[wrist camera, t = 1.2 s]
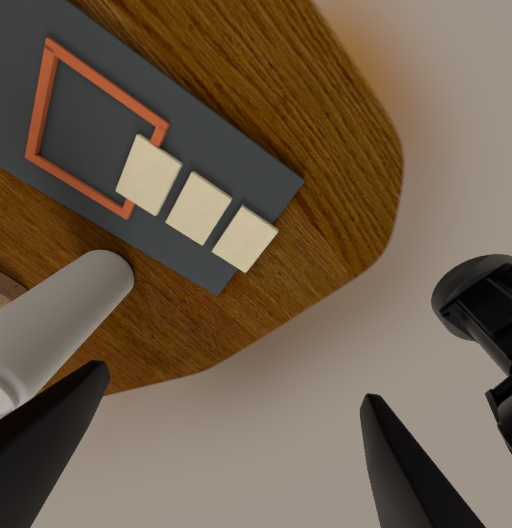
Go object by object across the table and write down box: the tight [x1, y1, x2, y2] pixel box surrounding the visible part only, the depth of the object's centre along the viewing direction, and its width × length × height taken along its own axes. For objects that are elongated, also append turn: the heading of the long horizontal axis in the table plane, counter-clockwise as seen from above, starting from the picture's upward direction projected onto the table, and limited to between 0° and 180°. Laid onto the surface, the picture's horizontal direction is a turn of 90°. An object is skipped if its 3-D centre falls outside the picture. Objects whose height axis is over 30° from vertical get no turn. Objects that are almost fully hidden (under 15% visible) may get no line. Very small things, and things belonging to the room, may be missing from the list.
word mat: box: [0, 0, 305, 296], centre depth 18 cm, size 21×12×1 cm, turn 56°
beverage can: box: [0, 250, 134, 419], centre depth 18 cm, size 5×5×12 cm
